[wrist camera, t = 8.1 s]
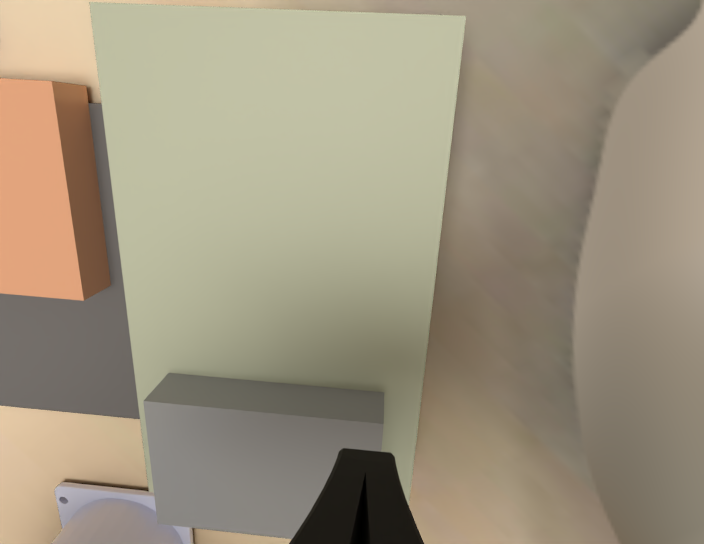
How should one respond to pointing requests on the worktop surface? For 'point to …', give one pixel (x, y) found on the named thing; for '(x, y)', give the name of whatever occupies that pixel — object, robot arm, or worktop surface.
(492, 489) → the worktop surface
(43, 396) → the mat
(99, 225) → the peach rectangular tile
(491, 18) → the worktop surface
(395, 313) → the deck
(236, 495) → the slate gray rectangular block
